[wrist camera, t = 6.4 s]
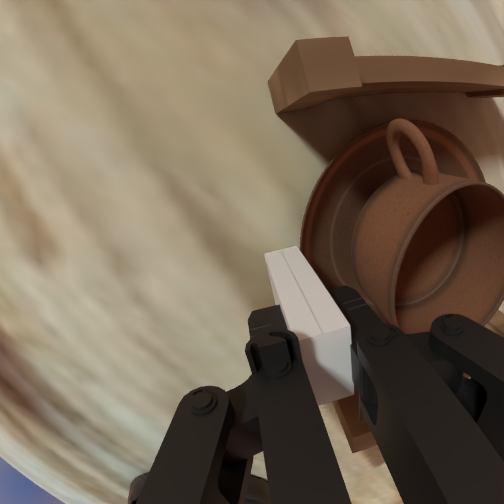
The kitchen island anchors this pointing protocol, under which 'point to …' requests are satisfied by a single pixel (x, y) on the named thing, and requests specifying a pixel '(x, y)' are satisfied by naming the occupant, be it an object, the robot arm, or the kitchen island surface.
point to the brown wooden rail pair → (369, 83)
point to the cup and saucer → (408, 226)
